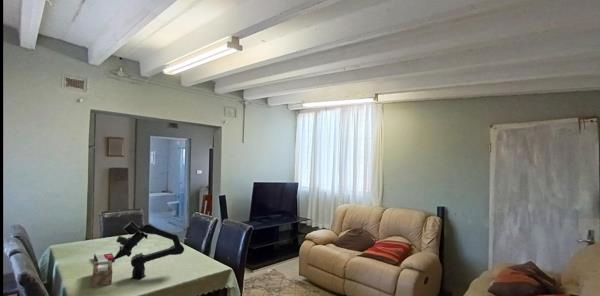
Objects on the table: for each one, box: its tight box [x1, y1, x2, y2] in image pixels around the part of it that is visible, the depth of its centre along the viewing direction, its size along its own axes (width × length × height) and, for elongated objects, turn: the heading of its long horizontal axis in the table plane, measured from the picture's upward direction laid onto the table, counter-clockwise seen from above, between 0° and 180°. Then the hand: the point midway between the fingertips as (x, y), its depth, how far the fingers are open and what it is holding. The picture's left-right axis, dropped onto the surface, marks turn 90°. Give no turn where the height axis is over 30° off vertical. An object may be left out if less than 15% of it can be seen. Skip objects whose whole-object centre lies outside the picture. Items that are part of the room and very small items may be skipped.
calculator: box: [93, 251, 116, 263], centre depth 237 cm, size 11×4×15 cm
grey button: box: [98, 259, 108, 265], centre depth 208 cm, size 5×5×3 cm
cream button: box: [98, 264, 108, 272], centre depth 199 cm, size 5×5×3 cm
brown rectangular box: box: [91, 260, 113, 288], centre depth 203 cm, size 10×22×8 cm, turn 31°
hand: (114, 259), depth 202 cm, fingers closed
